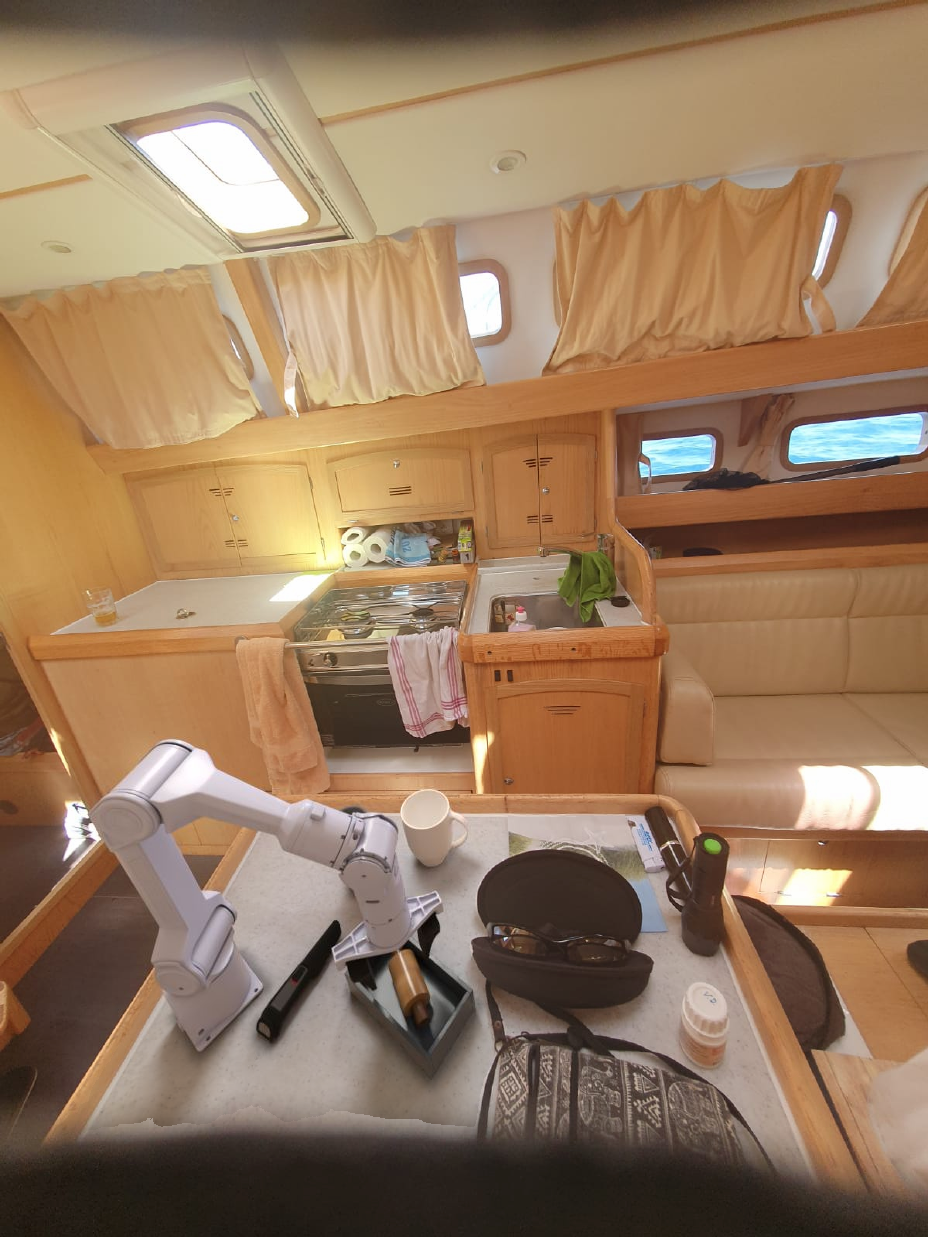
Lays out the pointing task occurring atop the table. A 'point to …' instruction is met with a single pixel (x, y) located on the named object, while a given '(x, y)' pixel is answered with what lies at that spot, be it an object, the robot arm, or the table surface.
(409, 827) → the mug
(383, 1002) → the tin
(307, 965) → the electric trimmer
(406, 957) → the rolling pin
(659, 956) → the table surface
